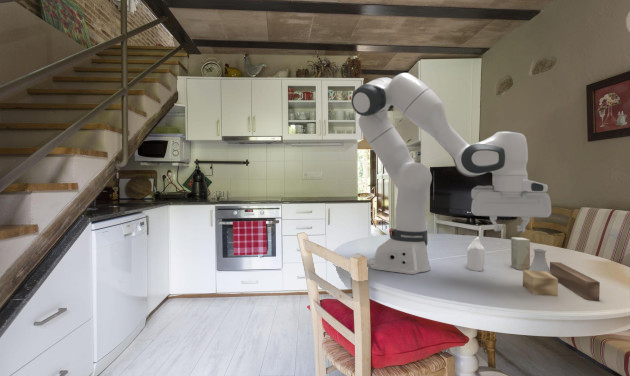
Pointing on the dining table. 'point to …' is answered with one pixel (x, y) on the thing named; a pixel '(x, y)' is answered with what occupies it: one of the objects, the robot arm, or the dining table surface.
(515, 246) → the box
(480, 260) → the white bottle
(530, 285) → the oak block
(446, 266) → the dining table surface
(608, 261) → the dining table surface
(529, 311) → the dining table surface
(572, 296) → the dining table surface
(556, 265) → the walnut board
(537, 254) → the flask
